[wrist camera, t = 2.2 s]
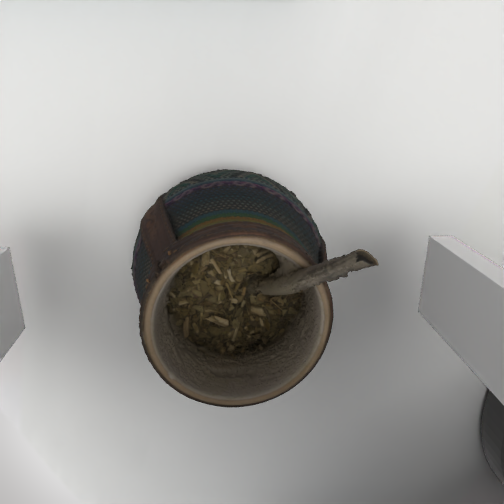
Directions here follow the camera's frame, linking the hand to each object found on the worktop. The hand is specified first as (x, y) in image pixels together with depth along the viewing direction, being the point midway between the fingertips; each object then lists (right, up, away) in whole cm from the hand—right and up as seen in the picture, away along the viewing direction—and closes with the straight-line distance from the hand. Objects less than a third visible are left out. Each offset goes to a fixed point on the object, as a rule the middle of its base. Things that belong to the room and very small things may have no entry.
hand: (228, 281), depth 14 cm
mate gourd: (0, +2, +6) cm, 6 cm away
